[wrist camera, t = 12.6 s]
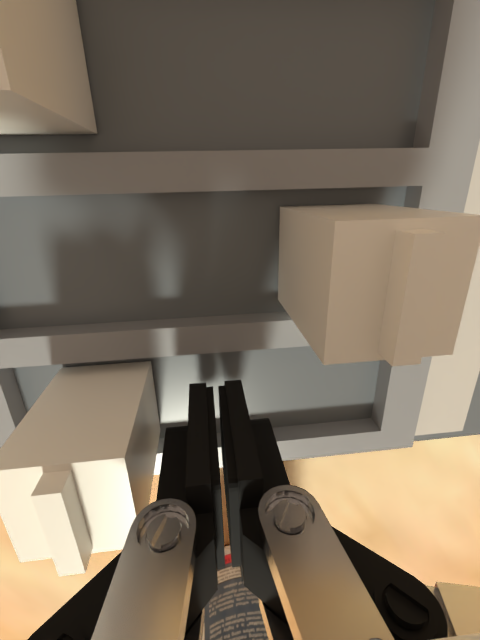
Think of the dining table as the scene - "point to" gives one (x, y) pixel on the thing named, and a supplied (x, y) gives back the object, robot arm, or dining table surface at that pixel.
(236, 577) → the pill bottle
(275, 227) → the switch bank
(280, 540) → the robot arm
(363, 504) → the dining table surface
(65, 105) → the tab
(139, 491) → the tab
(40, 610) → the dining table surface
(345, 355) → the tab
